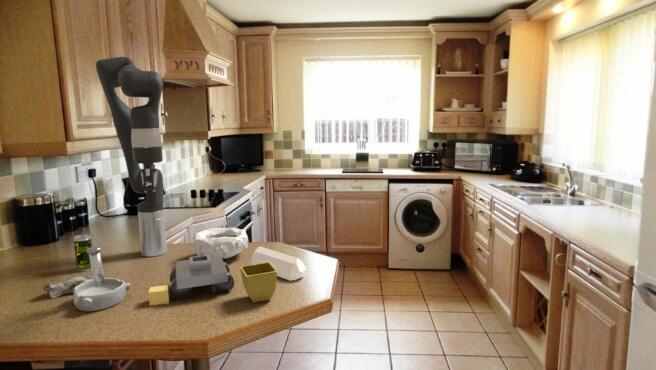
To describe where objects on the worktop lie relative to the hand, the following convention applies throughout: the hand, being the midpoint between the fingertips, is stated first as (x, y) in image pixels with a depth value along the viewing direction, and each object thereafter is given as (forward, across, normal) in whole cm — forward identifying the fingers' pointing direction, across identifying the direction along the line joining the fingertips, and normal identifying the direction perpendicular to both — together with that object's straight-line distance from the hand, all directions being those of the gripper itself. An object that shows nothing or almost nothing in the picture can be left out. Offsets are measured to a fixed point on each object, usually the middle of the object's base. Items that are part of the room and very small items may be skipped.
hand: (151, 202), depth 115 cm
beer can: (+28, -36, -25) cm, 52 cm away
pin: (+23, -4, -16) cm, 28 cm away
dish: (+29, -4, -16) cm, 33 cm away
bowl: (+28, -30, +21) cm, 46 cm away
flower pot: (+28, +12, +27) cm, 41 cm away
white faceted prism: (+29, -7, +37) cm, 47 cm away
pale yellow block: (+28, +3, 0) cm, 28 cm away
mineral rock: (+28, -16, -25) cm, 41 cm away
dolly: (+28, -2, +12) cm, 31 cm away
